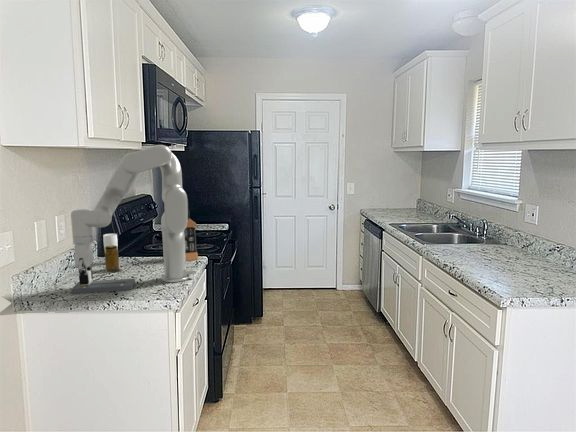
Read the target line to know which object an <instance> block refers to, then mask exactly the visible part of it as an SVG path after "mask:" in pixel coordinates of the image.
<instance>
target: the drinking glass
mask: <svg viewBox="0 0 576 432" xmlns="http://www.w3.org/2000/svg"><path fill="white" fill-rule="evenodd" d="M102 238H103V239H102V240H103V241H102V242H103V250H104V253H105V252H106V251H105V247H106V246H111V245H115V246H117V249H118V242H119V241H118V240H119V238H118V233H105V234H103V235H102Z"/></svg>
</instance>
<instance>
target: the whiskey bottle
mask: <svg viewBox="0 0 576 432" xmlns="http://www.w3.org/2000/svg"><path fill="white" fill-rule="evenodd" d="M187 204H188V207H189V199H187ZM190 213H191V212H190V209H189V208H188V222H187V227H186V229H185V230H184V236H185V260H186V261H196V260H199V254H198V251H197V236H196V235H197V234H196V228H197V222H195V221H193V220H192V219H191V218H190V215H191V214H190Z"/></svg>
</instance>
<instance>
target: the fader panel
mask: <svg viewBox="0 0 576 432" xmlns="http://www.w3.org/2000/svg"><path fill="white" fill-rule="evenodd" d="M135 284H136V278H121V279H120V278H118V279H116V278H115V279H103V280H101V279H100V280H92V282H91V283H90V285H82V286H81V285H80V282H79V281H78V282H76V283H75V285H74V286H73V287H71V289H70V290H71V294H72V295H73V294H75V295H76V294H86V293H87V294H89V293H90V294H91V293H103V292H106V293H107V292H117V291H119V292H121V291H132V290H133V289H134V287H135Z"/></svg>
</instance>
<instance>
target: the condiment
mask: <svg viewBox="0 0 576 432" xmlns="http://www.w3.org/2000/svg"><path fill="white" fill-rule="evenodd" d="M105 251H106V252H105ZM119 259H120V258H119V251H118V248H117V246H115V245H111V246H106V247H105V249H104V262H105V270H103V273H115V272H116V273H118V272H123V271H124V270H125V269H126V267H120V262H119V261H120V260H119Z"/></svg>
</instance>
